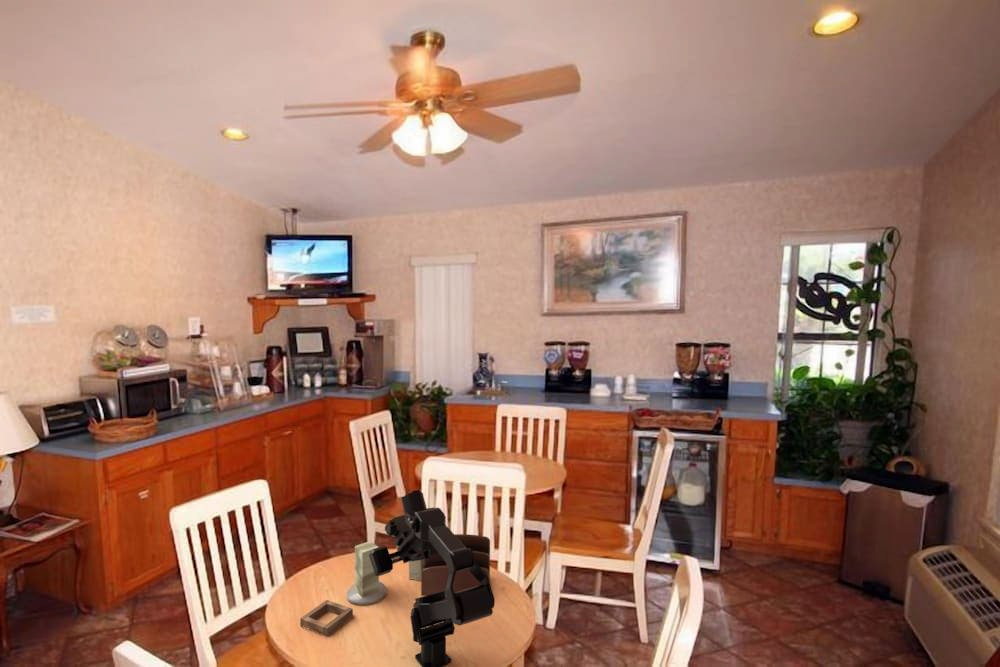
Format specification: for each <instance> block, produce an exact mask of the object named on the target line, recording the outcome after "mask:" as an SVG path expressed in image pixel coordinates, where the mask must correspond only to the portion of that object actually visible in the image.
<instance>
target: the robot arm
mask: <svg viewBox="0 0 1000 667" xmlns="http://www.w3.org/2000/svg"><path fill="white" fill-rule="evenodd" d="M400 499H401V500H400V501H401V505H402V509H403V513H404V514H403V515H398V516H396V517H395V516H394V517H393V518H392V519H390V520H389V521H388V522H387V523H386V524H385V526H384V531H385V533H386V535H387V536H388V537H394V538H395V539H394V541H393V543H394V545H395V547H397V549H396V551H395V552H391V553H390V552H389V549H388V547H387V545H385V544H384V545H381V546H378V548H375V549H372V551H371V552H370V554H369V558H370V561H371V564H372V567H373V570H374V573H375V575H376V576H379V577H380V576H384V575H386V574H389V573H391V572H392V570H393V569H394V564H397V563H399V562H401V561H402V563H403V564H406V563H409V561H417V560H423V559H427V558H430V557H433V556H435V555H437V554H440V556H441V557H442V558H443V560H444V561H445V562H446V564H447V569H448V573H449V576H448V581H447V585H446V589H445V591H442V592H438V593H434V594H431V595H423V596H421V597H417V598H415V602H414V603H413V606H412V608H411V611H410V616H409V617H410V622H411V630H412V641H413V642H414V643H415V642H416V643H418V646H420V652H418V653H417V654H415V655H414V659H415V660H416V661H417V662H418V664H419V665H420V667H444V666H447V665H449V664H451V663H452V658H451V657H450V656H449V654H447V652H446V651H447V650H446V649H447V648H446V646H447V645H446V644H447V642H446V641H447V638H446V637H448V636H450V635H451V636H452V635H454V633H455V625H457V626H463V625H466V624H467V625H468V624H469V623H473V622H475V621H478V620H481V619H485V618H488V617H490V616H492V615H493V613H494V610H493V609H494V607H495V605H496V604H495V603H496V601H495V596H494V592H493V589H492V586H491V582H489V578H488V576H487V575H486V573H485V572H484V571H483V570H482V569H481V568H480V567H479V566H478V565H477V564H476V561H475V558H474V554H473V551H472V550H471V549H470V548H469V549H468V548H466V547H465V546H464V545H463V544H462V543H461V541H460V540H459V539H458V538H457V537H456V536H455V535H454V532H453V531H452V530H451V529H450V528H449V527H448V526H447V522H446V521H447V520H446V515H445V513H444V511H443V510H442V509H441V508H440V507H435V506H434V507H429V508H428V507H427V503H426V500H425V496H424V493H423V492H422V491H420V489H415V490H411V492H409V493H407V494H405V495H404V496H401V498H400ZM466 569H469V571H470V572H471V573H472V574H473V575H474V577H475V578H476V579H477V580H478V581H479V582H480V584H481V585H479V586H476V587H472V588H469V589H465V590H462V591H458V592H455V593H454V590H453V583H454V578H455V574H456V572H458V571H462V570H466Z"/></svg>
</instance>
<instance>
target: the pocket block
mask: <svg viewBox="0 0 1000 667" xmlns="http://www.w3.org/2000/svg"><path fill="white" fill-rule="evenodd" d="M324 612H325V613H326V612H329V613H332V614H334V615H337V616H336V617H334V618H333V619H332V620H331V621H329V622H328V623H325V622H322V621H320V620H316V619H317V617H318V618H319V617H320V616H322V615H323V614H325V613H324ZM353 616H354V609H353V608H351V607H349V606H346V605H343V604H341V603H337V602H334V601H331V600H329V599H326V600H324V601H323V602H322V603H320V604H318V605H317V606H316V607H314V608H313V609H311V610H310V611H309V612H307V613H306V614H305V615H303V616H302V617H300V620H299V621H300V624H299V625H301V626H300V627H302V626H304V627H306V628H305V629H307V628H309V629H311V630H310V631H312V630H313V631H312V632H315V631H316V632H315V633H317V632H318V634H320V635H322V634H323V636H326V637H329V636H330V634H332V633H334V631H336V630H337V629H339V627H341V626H342V625H344V624H345V623H346V622H347V621H348V620H350V619H351V618H352V617H353ZM304 627H303V628H304ZM309 629H308V630H309Z"/></svg>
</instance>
